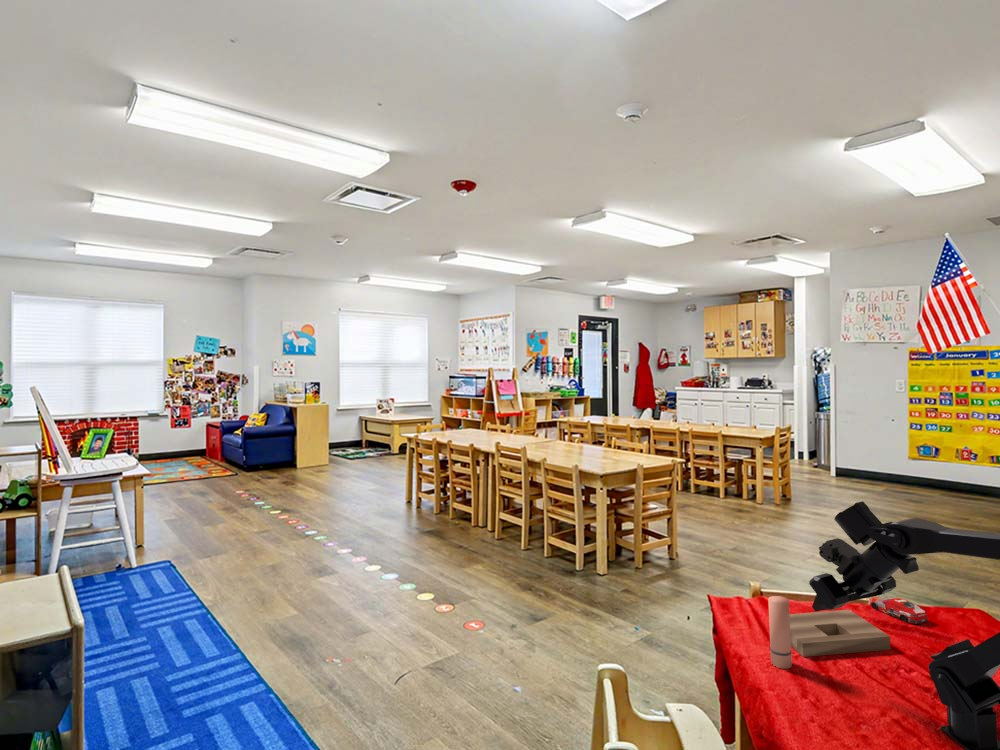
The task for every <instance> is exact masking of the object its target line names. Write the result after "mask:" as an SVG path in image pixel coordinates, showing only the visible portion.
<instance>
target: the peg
mask: <svg viewBox="0 0 1000 750" xmlns="http://www.w3.org/2000/svg"><path fill="white" fill-rule="evenodd" d="M767 602H768V620H769V623H768V624H769V644H770V647H769V651H770V663H771V662H772V663H771V665H772V664H773V665H772V666H774V667H775V666H776V668H777V669H778V668H779V669H784V670H786V669H787V670H788V669H790V668H792V647H791V639H790V616H789V614H790V600H789V599H788V598H787V597H784V596H779V595H772V596H769V597H768V601H767Z"/></svg>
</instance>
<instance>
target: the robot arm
mask: <svg viewBox="0 0 1000 750" xmlns="http://www.w3.org/2000/svg"><path fill="white" fill-rule="evenodd" d="M834 521H835V522H836V523H837V525H838V526H839V527H840V528H841V529H842V530H843V532H844V533H845V534H846V535H847V536H848V538H849V539H850V540H851V541H852V543H854V544H855V545H859V544H861V545H862V546H865V547H866V546H868V545H870V546H869V547H868V548H866V549H865V550H864V551H863V552H862V553H860V552H859V550H858V549H857V548H855V547H853V546H852V545H851V544H849V543H848V542H846V541H845V540H843V539H841V538H839V537H838V538H833V539H828V540H826V541H825V542H823V543H822V544H821V545H820V546H819V547H818V550H819V552H818V554H819V556H820V557H821V558H822V559H824V560H825V561H826V562H827V563H832V564H834V565H835V566H836V567H837V568H835V571H836V572H837V573H838V575H840V576H842V580H843V581H842V582H838V580H837V579H836V578H835V577H834V575H833V574H830V573H827V572H825V573H822V574H818V575H815V576H813V577H812V578H811V579H810V580H809V583H808V584H809V585H810V587H811V588H812V590H813V592H814V593H815V597H814V599H813V603H812V606H811V608H812V609H813V611H814V612H824V611H835V610H837V609H839V608H843V606H845V605H846V604H848V603H849V602H854V601H858V600H863V599H868V598H870V599H871V598H874V597H879V596H882V595H884V594H887V593H891V592H892V591H893V590H894V589H895V588H897V580H896V579H895V578H894V577H893V574H895V573H896V572H897V571H898V570H899V569H900V571H901V572H902V573H903V574H904V575H908V574H911V573H915V572H918V571H919V570H920V569H919V564H918V563H917V557H915V555H926V554H927V555H928V554H935V553H936V554H937V553H946V554H951V555H952V554H953V555H959V556H966V557H967V556H968V557H973V558H974V557H975V558H982V559H989V560H990V559H991V560H999V561H1000V532H995V531H994V532H991V531H983V530H982V531H981V530H972V529H962V528H961V529H959V528H951V527H948V526H944V525H942V524H940V523H938V522H936V521H931V520H927V519H923V518H921V517H920V518H919V517H911V518H907V519H903V520H899V521H889V522H884V523H882V521H881V520H880V519H879V518H878V517H877V516H876V515H875V514H874V513H873V511H872V510H871V509H870V508H869V506H868V505H867V504H866V502H864V501H863V500H862V501H858V502H855V503H854V504H853V505H851V506H849V507H847V508H845V509H844V510H842V511H840V512H837V514H836V515H835V516H834ZM911 555H914V556H911ZM929 658H930V659H932V660H931V661H930V662H929V664H928V666H927V668H928V672H929V676H930V678H931V680H932V681H933V684H934V687H935V689H936V693H937V695H938V698H939V700H940V703H941V704H942V705H944V706H945V707H946V717H947V724H948V725H941V726H939V729H940V731H942V732H943V733H944V732H945V733H946V735H947V734H948V735H947V736H948V737H949V736H950V737H949V738H951V739H952V738H953V739H954V740H955V741H954V740H953V739H952V740H953V741H954V742H956V743H957V744H958V743H959V744H958V745H960V746H961V747H962V746H963V747H964V748H963V747H962V748H963V749H965V750H1000V740H999V739H998V720H997V719H998V717H997V712H996V711H994V708H993V707H996V706H998V705H1000V686H999V685H998V683H997V682H996V681H995V680H994V679H993V676H995V675H996V673H997V672H998V670H999V668H1000V631H999V632H997V633H996V634H994V635H993V636H990V637H989V638H987V639H985V640H984V641H982V642H980V643H978V644H977V645H973V643H972V642H971V640H970V639H969V638H967V639H964V640H961V641H959V642H956V643H953V644H950V645H948V646H946V647H945V648H944V649H942V650H941V651H940V652H938V653H935V654H933V655H930V657H929ZM945 733H944V734H945Z"/></svg>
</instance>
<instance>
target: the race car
mask: <svg viewBox="0 0 1000 750" xmlns="http://www.w3.org/2000/svg"><path fill="white" fill-rule="evenodd" d="M881 605H882V606H881ZM870 607H871V608H872V609H873V610H875V611H880V612H882V613H884V614H887V615H889V616H892V617H894V618H895V619H899V620H901V621H902V622H904V623H906V622H908V623H910V624H916V625H917V624H924V623H926V622H927V623H928V621H929V617H928V614H927V612H926V610H924V609H922V608H920V606H918V605H916V604H915V603H913V602H911V601H909V600H907V599H904V598H901V597H897V598H896V597H895V598H891V597H886V596H875V597H871V598H870Z"/></svg>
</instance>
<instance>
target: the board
mask: <svg viewBox="0 0 1000 750" xmlns="http://www.w3.org/2000/svg"><path fill="white" fill-rule="evenodd" d="M789 616H790V639H791V646H792V647H793V648H794V651H796V652H797V653H798V654H799V656H801V657H803V658H805V657H816V656H826V655H827V656H828V655H829V656H831V655H841V654H842V655H843V654H851V653H852V654H853V653H865V652H876V651H877V652H879V651H887V650H888V651H890V650H891V636H890V635H889V634H887V633H885V632H884V631H883V630H881V629H880V628H878V627H876V626H874V624H872V623H870V622H869V621H868V620H865V619H864V618H863V617H861V616H859V615H858V614H857V613H854V612H853V611H852V610H850V609H839V610H824V611H814V612H803V613H802V612H800V613H789ZM792 647H791V648H792ZM793 648H792V649H793Z"/></svg>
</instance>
